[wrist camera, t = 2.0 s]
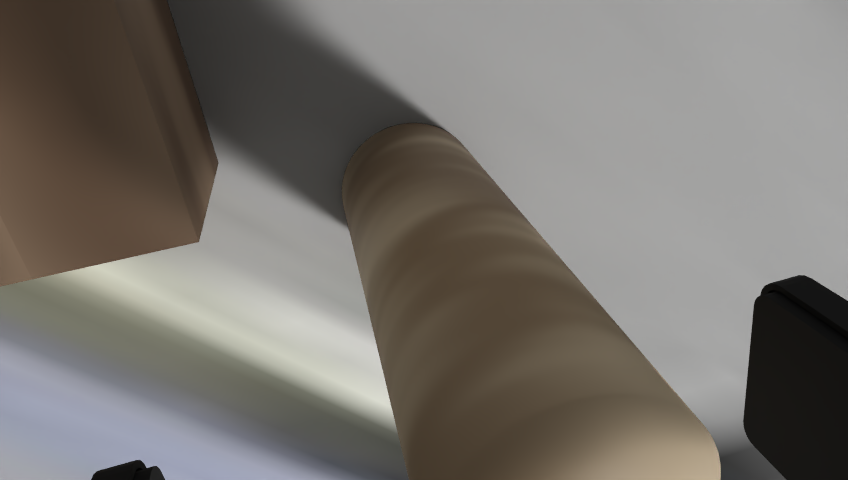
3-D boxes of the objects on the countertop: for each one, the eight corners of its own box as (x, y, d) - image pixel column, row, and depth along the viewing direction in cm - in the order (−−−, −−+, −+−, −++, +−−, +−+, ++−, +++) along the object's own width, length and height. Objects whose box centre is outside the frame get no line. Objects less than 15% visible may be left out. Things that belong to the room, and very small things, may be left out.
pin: (468, 109, 18) (729, 358, 8) (483, 235, 20) (713, 575, 10) (327, 139, 18) (402, 445, 7) (357, 265, 20) (449, 656, 9)
